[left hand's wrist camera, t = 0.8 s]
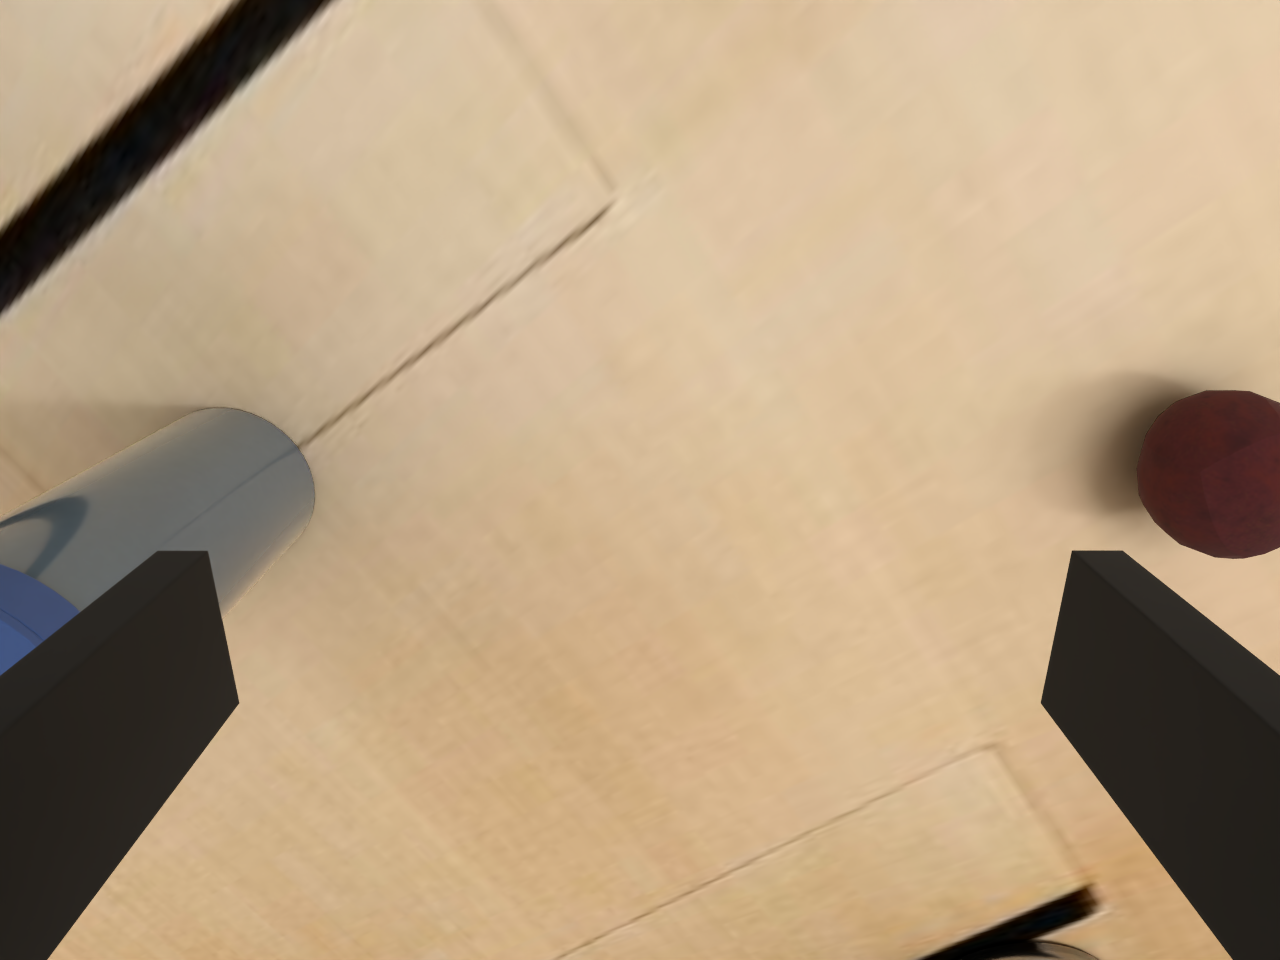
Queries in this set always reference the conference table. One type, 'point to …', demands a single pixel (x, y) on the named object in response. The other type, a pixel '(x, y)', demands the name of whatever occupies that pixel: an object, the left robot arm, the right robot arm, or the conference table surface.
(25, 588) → the lid
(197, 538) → the jar
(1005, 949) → the right robot arm
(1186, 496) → the dark red ball
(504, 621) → the conference table surface
